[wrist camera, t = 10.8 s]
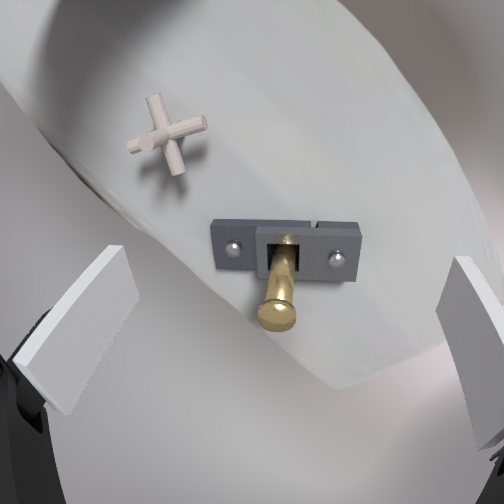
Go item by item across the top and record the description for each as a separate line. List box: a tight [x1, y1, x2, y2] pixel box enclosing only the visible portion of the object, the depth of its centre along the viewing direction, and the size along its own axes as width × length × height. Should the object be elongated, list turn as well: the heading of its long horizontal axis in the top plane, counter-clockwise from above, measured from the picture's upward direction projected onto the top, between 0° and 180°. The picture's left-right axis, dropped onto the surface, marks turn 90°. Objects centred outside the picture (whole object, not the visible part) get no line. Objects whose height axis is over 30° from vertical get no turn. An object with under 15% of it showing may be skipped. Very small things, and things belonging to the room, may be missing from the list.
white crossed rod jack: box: [127, 93, 208, 176], centre depth 33 cm, size 10×10×10 cm
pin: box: [257, 244, 296, 332], centre depth 37 cm, size 4×4×15 cm
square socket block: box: [210, 219, 362, 282], centre depth 41 cm, size 7×20×5 cm, turn 93°
